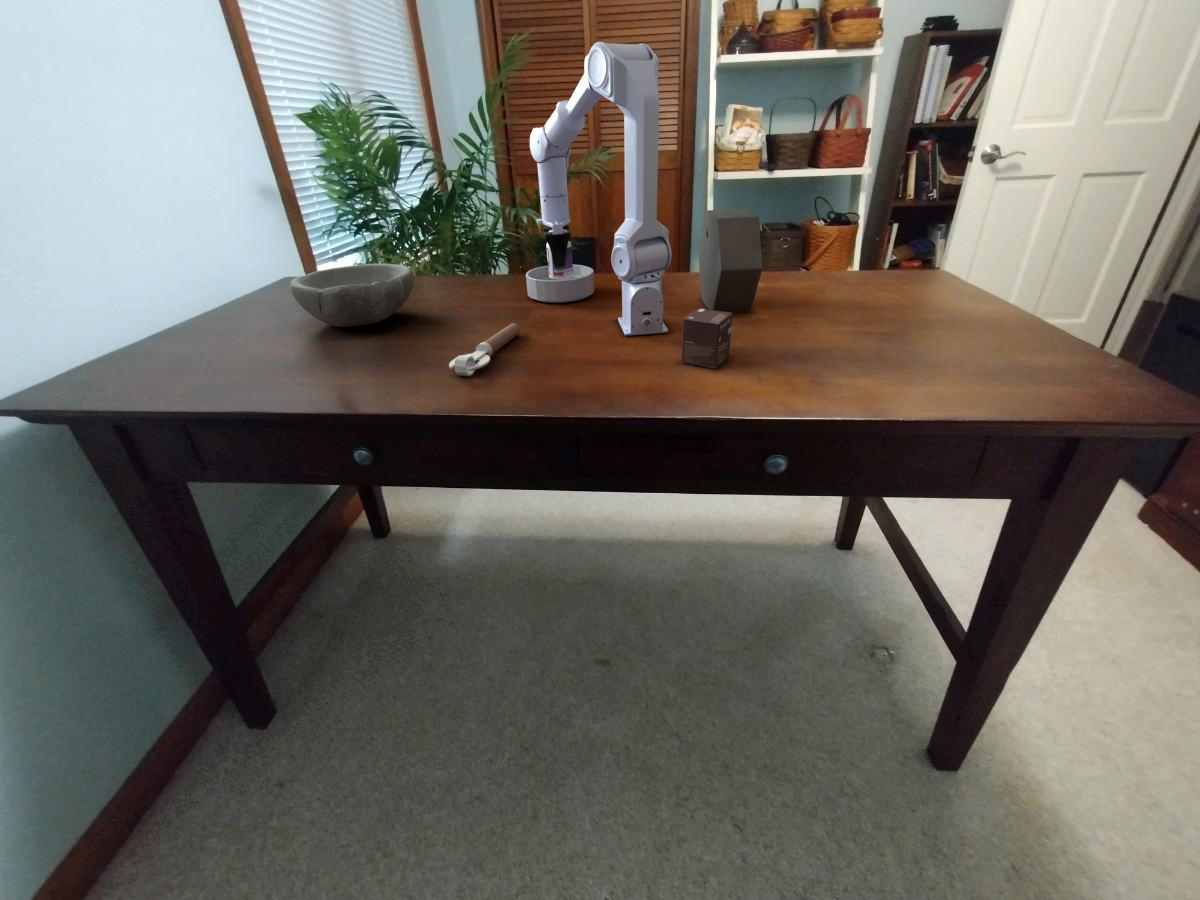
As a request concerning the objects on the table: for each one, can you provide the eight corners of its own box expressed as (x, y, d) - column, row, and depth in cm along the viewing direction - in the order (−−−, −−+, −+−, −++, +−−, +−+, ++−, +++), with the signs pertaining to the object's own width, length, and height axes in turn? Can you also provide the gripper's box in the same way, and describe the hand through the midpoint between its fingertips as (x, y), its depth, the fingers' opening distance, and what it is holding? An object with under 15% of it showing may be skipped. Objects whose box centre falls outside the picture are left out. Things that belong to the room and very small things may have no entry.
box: (715, 370, 84) (719, 323, 80) (679, 363, 87) (681, 318, 83) (729, 356, 88) (733, 312, 84) (695, 350, 91) (697, 307, 87)
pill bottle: (578, 276, 120) (575, 229, 115) (561, 281, 117) (557, 233, 112) (561, 272, 123) (558, 227, 118) (544, 277, 120) (539, 231, 115)
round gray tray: (597, 301, 117) (596, 278, 115) (528, 306, 116) (525, 283, 114) (590, 284, 130) (589, 262, 128) (528, 288, 129) (526, 266, 126)
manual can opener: (494, 333, 102) (492, 317, 101) (524, 334, 101) (523, 318, 100) (445, 377, 85) (441, 359, 84) (480, 379, 84) (477, 361, 83)
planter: (764, 297, 99) (757, 186, 100) (722, 300, 99) (715, 188, 99) (738, 322, 116) (732, 227, 116) (703, 324, 116) (696, 229, 116)
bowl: (440, 306, 119) (431, 259, 114) (389, 342, 100) (375, 288, 95) (345, 304, 123) (332, 258, 118) (279, 339, 104) (260, 286, 99)
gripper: (534, 192, 117) (540, 257, 125) (534, 201, 105) (541, 272, 112) (566, 190, 118) (570, 255, 125) (571, 199, 106) (575, 270, 113)
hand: (559, 263), depth 119 cm, fingers closed on pill bottle, 5 cm apart
